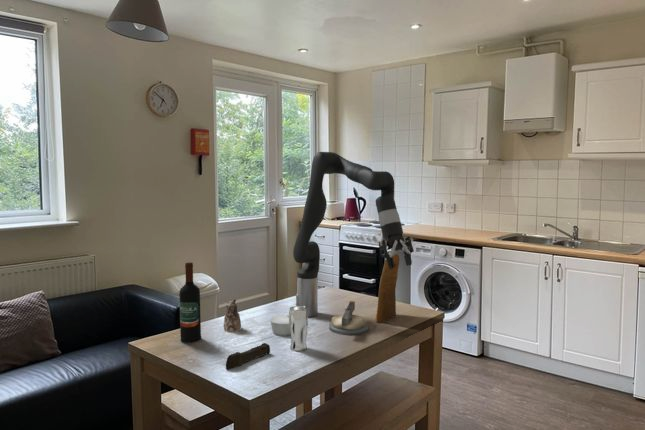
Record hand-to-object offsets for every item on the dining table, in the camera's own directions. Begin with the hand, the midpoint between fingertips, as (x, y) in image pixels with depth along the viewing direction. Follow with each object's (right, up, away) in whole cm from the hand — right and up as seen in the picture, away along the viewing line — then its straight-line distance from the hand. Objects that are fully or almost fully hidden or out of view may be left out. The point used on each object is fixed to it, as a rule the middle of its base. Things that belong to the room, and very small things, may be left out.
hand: (400, 266), depth 173 cm
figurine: (-65, -29, +25) cm, 76 cm away
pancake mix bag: (+1, -27, +40) cm, 48 cm away
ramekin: (-44, -29, +22) cm, 57 cm away
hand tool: (-53, -32, -8) cm, 63 cm away
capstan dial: (-17, -27, +26) cm, 41 cm away
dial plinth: (-17, -28, +26) cm, 42 cm away
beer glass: (-37, -31, +4) cm, 48 cm away
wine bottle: (-79, -30, +13) cm, 85 cm away
